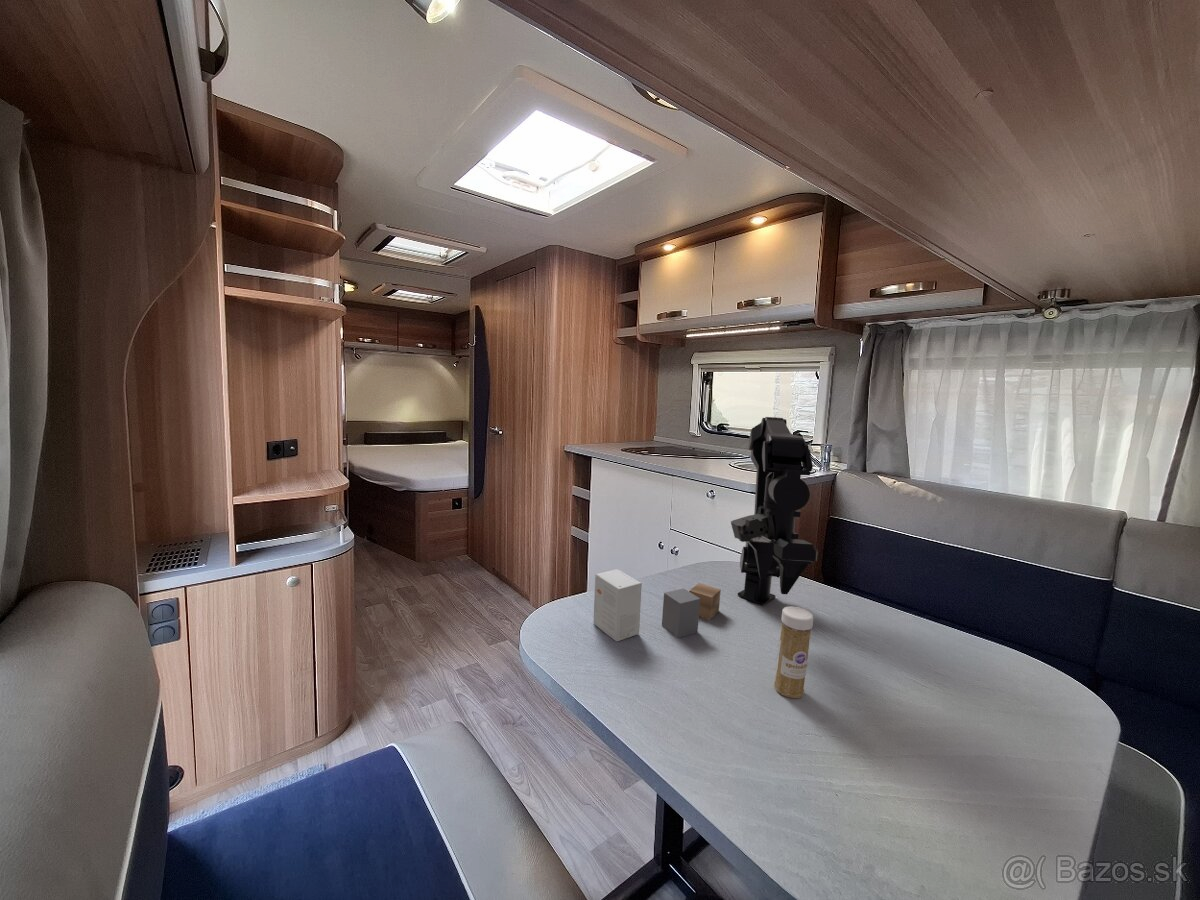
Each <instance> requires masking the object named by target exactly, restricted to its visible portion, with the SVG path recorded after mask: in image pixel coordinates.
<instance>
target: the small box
mask: <svg viewBox="0 0 1200 900" xmlns="http://www.w3.org/2000/svg"><path fill="white" fill-rule="evenodd" d="M642 584H643V583H642V582H640V581H639V580H637V579H636V578H633V577H632V576H630V575H628V574H626V573H625V572H623V571H621V570H620V569H612V570H608V571H603V572H599V573H596V574H595V576H594V599H593V600H594V603H593V605H594V606H593V621H592V623H593V625H595V626H596V627H597V628H599V629H600V630H601V631H602V632H603V633H605V634H606V635H607V636H609V637H610V638H611V639H613V640H614V641H615V642H617V643H618V642H620V641H622V640H626V639H628V638H631V637H634V636H637V635H639V634H640V623H641V607H642V606H641V605H642V603H641V602H642V588H643V587H642Z"/></svg>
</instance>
